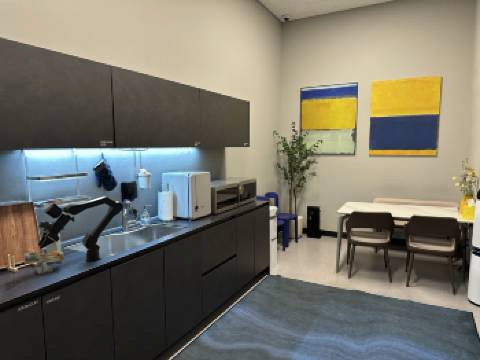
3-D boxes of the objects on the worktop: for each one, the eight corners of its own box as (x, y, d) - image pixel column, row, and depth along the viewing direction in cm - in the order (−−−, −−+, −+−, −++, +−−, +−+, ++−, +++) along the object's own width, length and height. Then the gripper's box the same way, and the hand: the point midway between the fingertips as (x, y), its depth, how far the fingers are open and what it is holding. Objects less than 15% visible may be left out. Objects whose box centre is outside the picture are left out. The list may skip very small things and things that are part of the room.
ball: (54, 257, 189) (56, 250, 189) (59, 259, 187) (60, 251, 187) (48, 257, 185) (49, 250, 185) (52, 259, 183) (54, 252, 183)
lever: (60, 260, 191) (61, 250, 191) (63, 264, 186) (63, 253, 186) (23, 263, 180) (24, 252, 180) (24, 267, 175) (25, 256, 175)
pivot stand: (50, 266, 190) (49, 256, 189) (53, 271, 181) (52, 260, 181) (35, 269, 186) (34, 258, 185) (38, 274, 177) (37, 263, 177)
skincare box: (58, 261, 199) (56, 236, 198) (46, 262, 198) (44, 237, 196) (62, 256, 207) (60, 233, 206) (51, 257, 206) (49, 233, 204)
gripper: (45, 212, 190) (24, 235, 185) (50, 217, 176) (27, 242, 170) (62, 224, 196) (42, 246, 190) (68, 229, 181) (46, 253, 175)
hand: (39, 246), depth 181 cm, fingers open, 7 cm apart
